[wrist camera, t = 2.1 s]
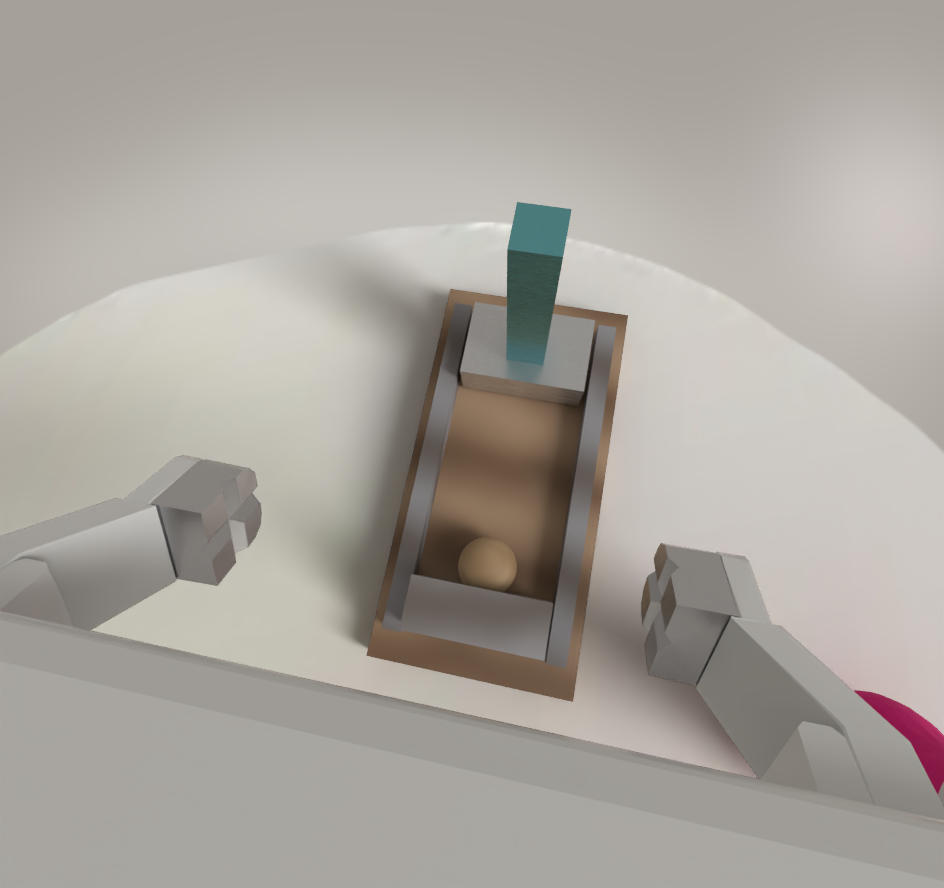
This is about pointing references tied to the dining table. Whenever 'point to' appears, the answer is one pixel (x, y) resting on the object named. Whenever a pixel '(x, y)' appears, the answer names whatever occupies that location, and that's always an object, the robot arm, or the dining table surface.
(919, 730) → the pepper mill
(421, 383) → the dining table surface
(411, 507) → the tray
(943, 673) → the dining table surface
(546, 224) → the track slider block
